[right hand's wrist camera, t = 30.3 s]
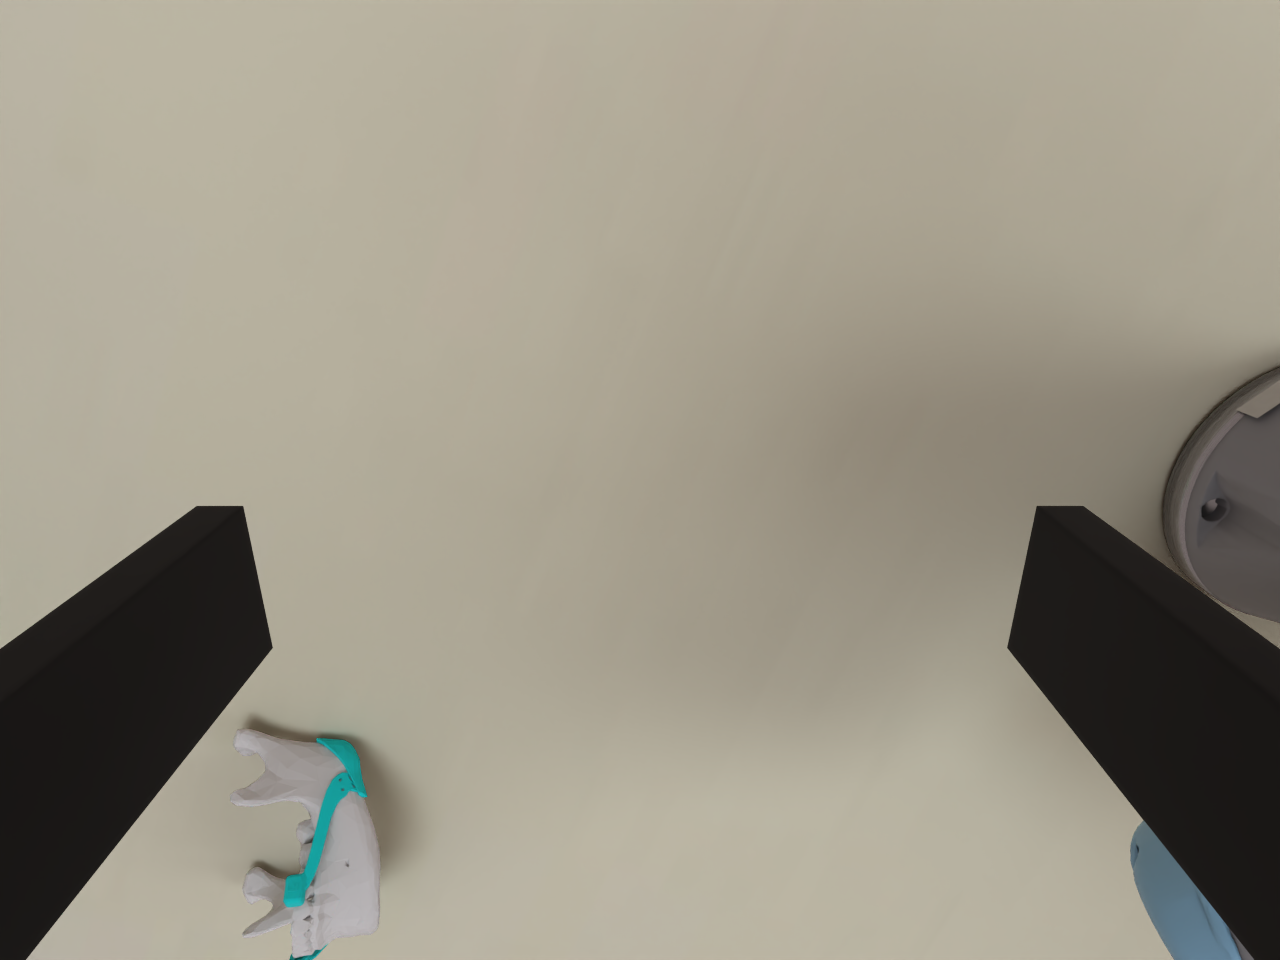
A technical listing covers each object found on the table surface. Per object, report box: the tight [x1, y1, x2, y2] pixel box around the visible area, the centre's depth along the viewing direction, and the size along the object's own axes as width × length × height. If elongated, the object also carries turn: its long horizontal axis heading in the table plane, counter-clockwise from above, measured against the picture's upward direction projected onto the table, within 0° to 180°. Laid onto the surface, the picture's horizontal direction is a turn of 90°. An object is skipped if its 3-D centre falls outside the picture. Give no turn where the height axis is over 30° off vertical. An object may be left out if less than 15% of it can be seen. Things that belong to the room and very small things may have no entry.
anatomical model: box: [230, 729, 381, 960], centre depth 48 cm, size 15×10×10 cm
